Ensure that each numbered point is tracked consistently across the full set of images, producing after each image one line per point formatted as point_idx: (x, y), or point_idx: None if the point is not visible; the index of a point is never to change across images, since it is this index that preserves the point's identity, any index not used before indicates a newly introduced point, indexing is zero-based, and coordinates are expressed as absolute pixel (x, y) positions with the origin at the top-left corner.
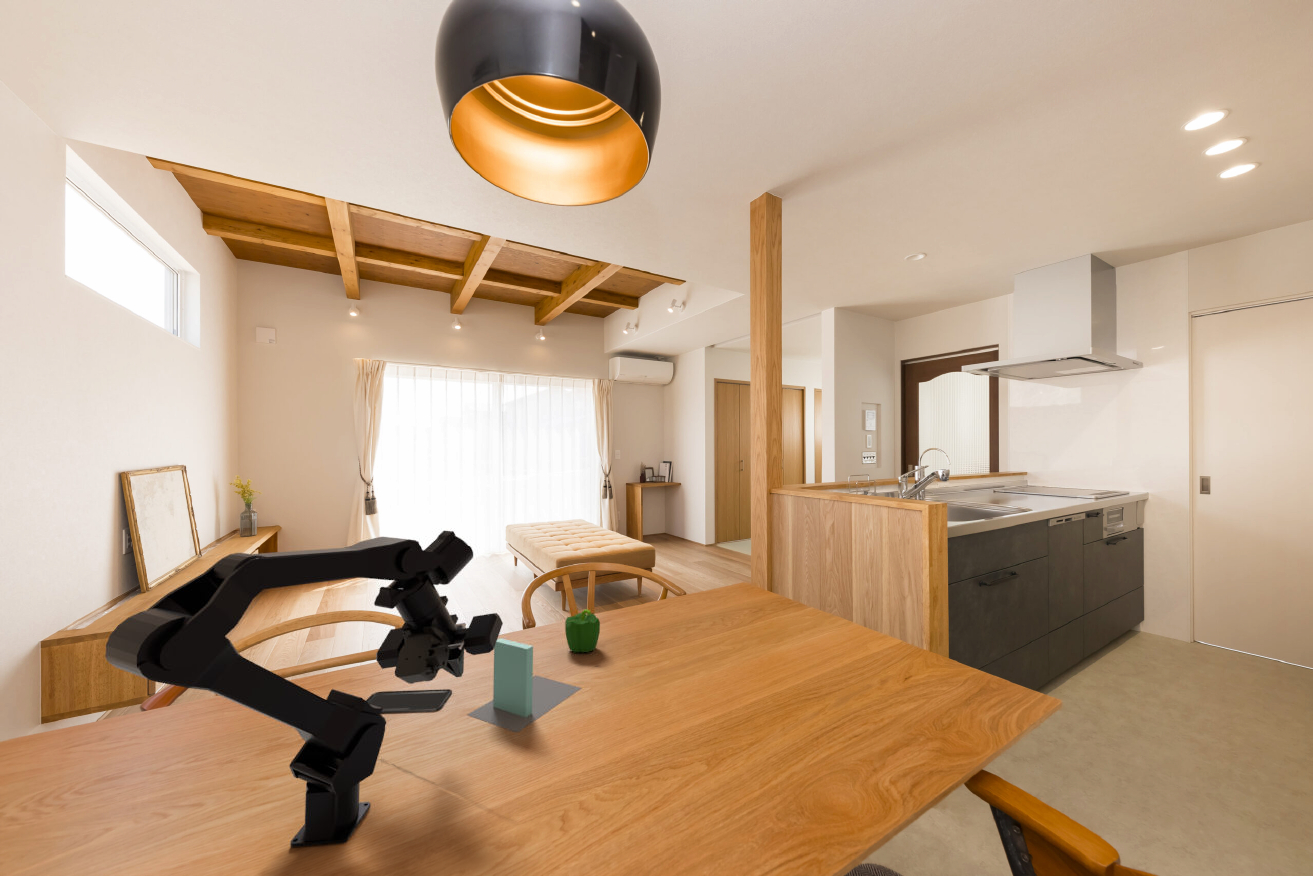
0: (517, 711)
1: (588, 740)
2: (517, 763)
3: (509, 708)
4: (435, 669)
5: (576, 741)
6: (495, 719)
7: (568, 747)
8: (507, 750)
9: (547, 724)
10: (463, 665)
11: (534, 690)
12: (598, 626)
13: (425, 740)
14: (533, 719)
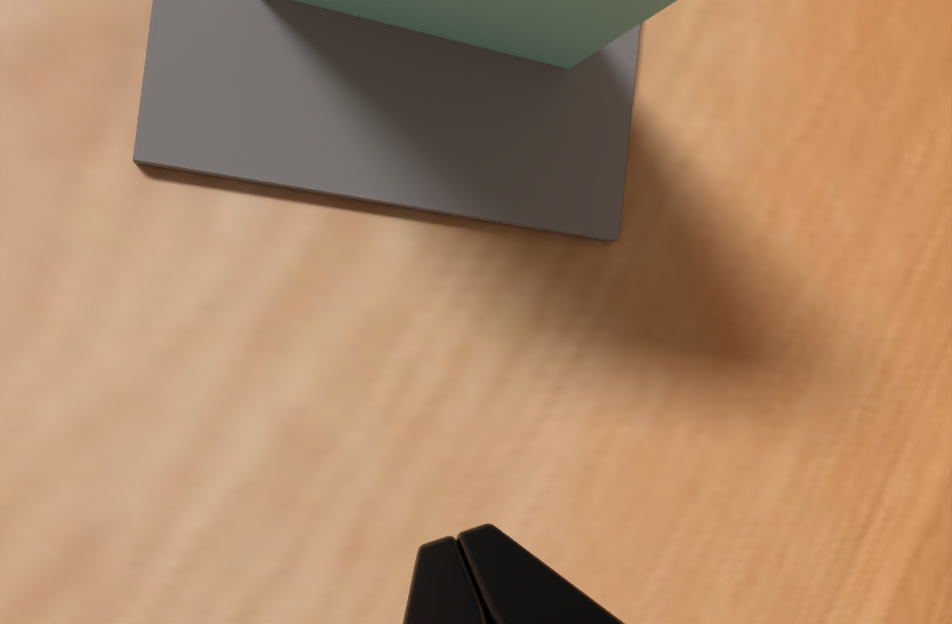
0: (507, 43)
1: (928, 157)
2: (752, 458)
3: (433, 23)
4: None
5: (889, 184)
6: (397, 151)
7: (881, 244)
8: (649, 389)
9: (696, 80)
10: (552, 575)
11: None
12: None
13: (76, 542)
14: (621, 74)
